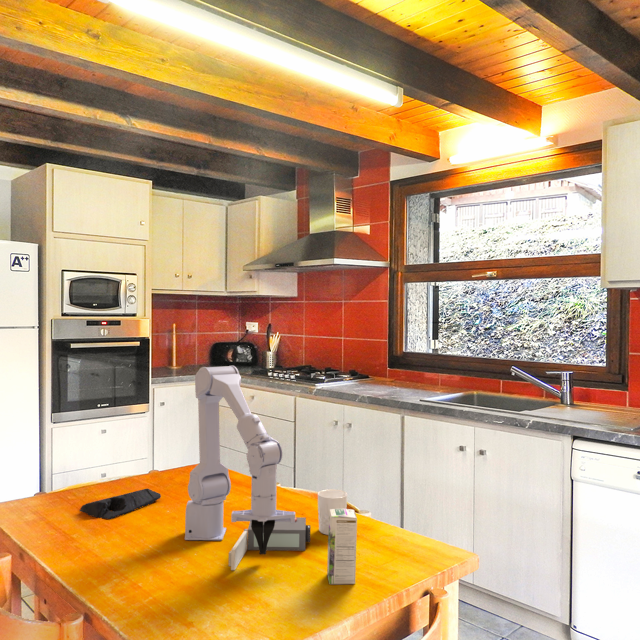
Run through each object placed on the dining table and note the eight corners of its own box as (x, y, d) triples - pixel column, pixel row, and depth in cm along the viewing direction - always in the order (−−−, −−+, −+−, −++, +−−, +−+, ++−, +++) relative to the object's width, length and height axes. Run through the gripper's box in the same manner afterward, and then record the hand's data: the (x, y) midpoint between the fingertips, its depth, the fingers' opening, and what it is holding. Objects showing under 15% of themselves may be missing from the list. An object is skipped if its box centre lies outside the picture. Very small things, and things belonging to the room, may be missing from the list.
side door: (242, 547, 146) (242, 528, 146) (248, 547, 146) (248, 529, 146) (228, 569, 133) (228, 549, 133) (234, 570, 133) (234, 549, 133)
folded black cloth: (168, 503, 181) (169, 487, 181) (105, 523, 163) (105, 505, 163) (136, 494, 190) (137, 479, 190) (73, 511, 172) (73, 495, 172)
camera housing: (247, 550, 145) (247, 527, 145) (251, 536, 154) (251, 514, 154) (310, 550, 145) (310, 527, 145) (310, 536, 154) (310, 515, 154)
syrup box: (326, 573, 133) (327, 508, 132) (353, 573, 133) (354, 508, 133) (328, 585, 127) (330, 517, 127) (356, 584, 127) (357, 516, 127)
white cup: (344, 537, 154) (344, 499, 154) (314, 535, 156) (314, 496, 156) (348, 527, 162) (349, 490, 162) (320, 524, 164) (320, 488, 163)
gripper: (229, 498, 133) (229, 559, 133) (294, 499, 134) (293, 559, 134) (234, 489, 140) (233, 547, 140) (295, 490, 141) (294, 547, 141)
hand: (262, 552), depth 137 cm, fingers closed
